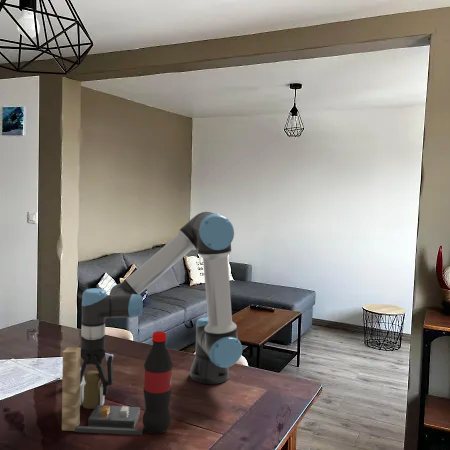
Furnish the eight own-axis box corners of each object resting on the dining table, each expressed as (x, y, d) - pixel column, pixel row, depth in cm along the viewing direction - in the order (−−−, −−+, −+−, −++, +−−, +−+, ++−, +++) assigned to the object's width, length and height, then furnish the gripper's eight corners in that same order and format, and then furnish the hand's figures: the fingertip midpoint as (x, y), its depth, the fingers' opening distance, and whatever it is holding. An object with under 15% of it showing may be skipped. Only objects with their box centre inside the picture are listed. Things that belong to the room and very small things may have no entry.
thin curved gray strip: (142, 432, 141) (142, 429, 141) (142, 435, 140) (142, 431, 140) (75, 429, 141) (76, 425, 141) (74, 431, 140) (74, 428, 140)
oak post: (79, 424, 145) (80, 347, 142) (75, 430, 141) (76, 352, 138) (66, 423, 145) (67, 347, 142) (61, 430, 141) (62, 351, 138)
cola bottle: (171, 422, 148) (174, 328, 145) (169, 436, 140) (172, 337, 137) (144, 421, 148) (147, 327, 145) (140, 435, 139) (143, 336, 137)
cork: (94, 398, 162) (94, 367, 161) (105, 404, 158) (105, 372, 157) (78, 404, 157) (79, 372, 156) (89, 410, 153) (90, 377, 152)
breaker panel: (139, 414, 152) (140, 402, 152) (134, 429, 143) (134, 416, 143) (96, 412, 152) (96, 400, 152) (87, 427, 143) (88, 414, 143)
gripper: (124, 333, 159) (123, 400, 161) (67, 331, 159) (66, 397, 161) (119, 341, 152) (117, 410, 154) (59, 338, 152) (58, 407, 154)
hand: (91, 403), depth 157 cm, fingers open, 6 cm apart
